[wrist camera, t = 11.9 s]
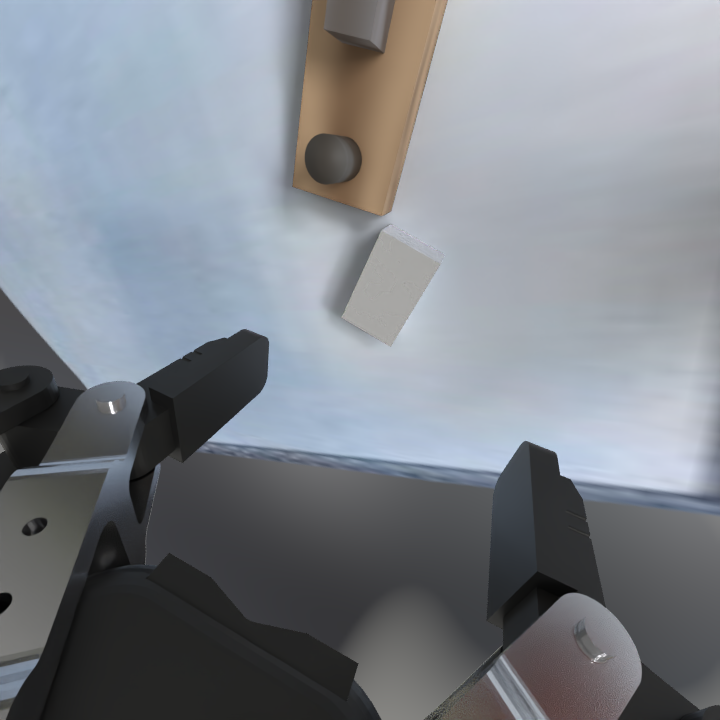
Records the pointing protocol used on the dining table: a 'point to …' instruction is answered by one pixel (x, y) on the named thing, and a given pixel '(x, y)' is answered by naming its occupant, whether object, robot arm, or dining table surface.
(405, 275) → the lever cap
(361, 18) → the body
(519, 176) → the dining table surface
